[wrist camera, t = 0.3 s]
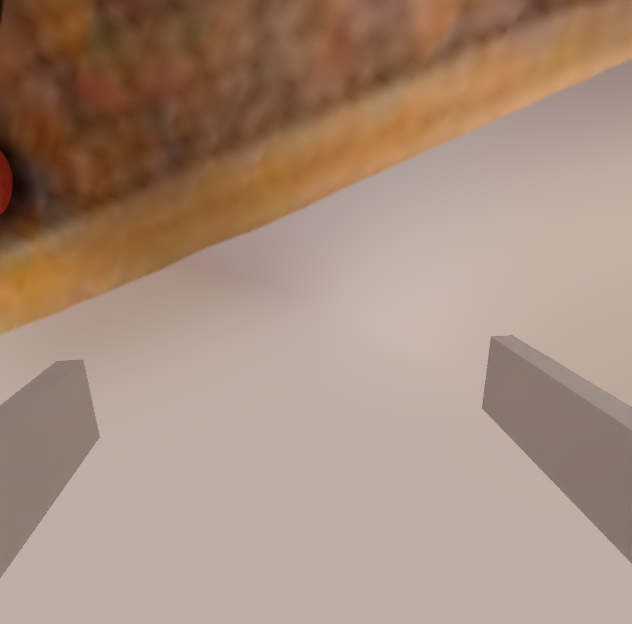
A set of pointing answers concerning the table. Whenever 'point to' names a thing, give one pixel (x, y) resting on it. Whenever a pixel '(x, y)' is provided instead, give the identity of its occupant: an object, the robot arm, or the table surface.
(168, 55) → the table surface
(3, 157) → the apple
